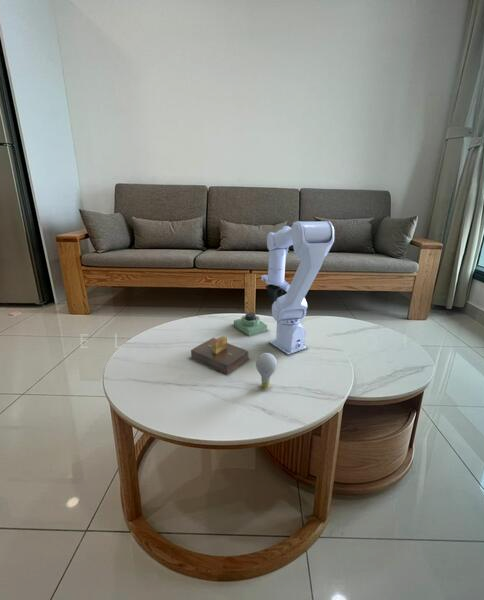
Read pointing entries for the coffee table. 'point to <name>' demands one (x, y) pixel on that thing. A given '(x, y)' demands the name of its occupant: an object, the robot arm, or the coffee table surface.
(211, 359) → the plate
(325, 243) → the robot arm
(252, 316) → the alarm button
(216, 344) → the thumb turn
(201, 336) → the coffee table surface
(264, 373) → the light bulb
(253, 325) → the block
